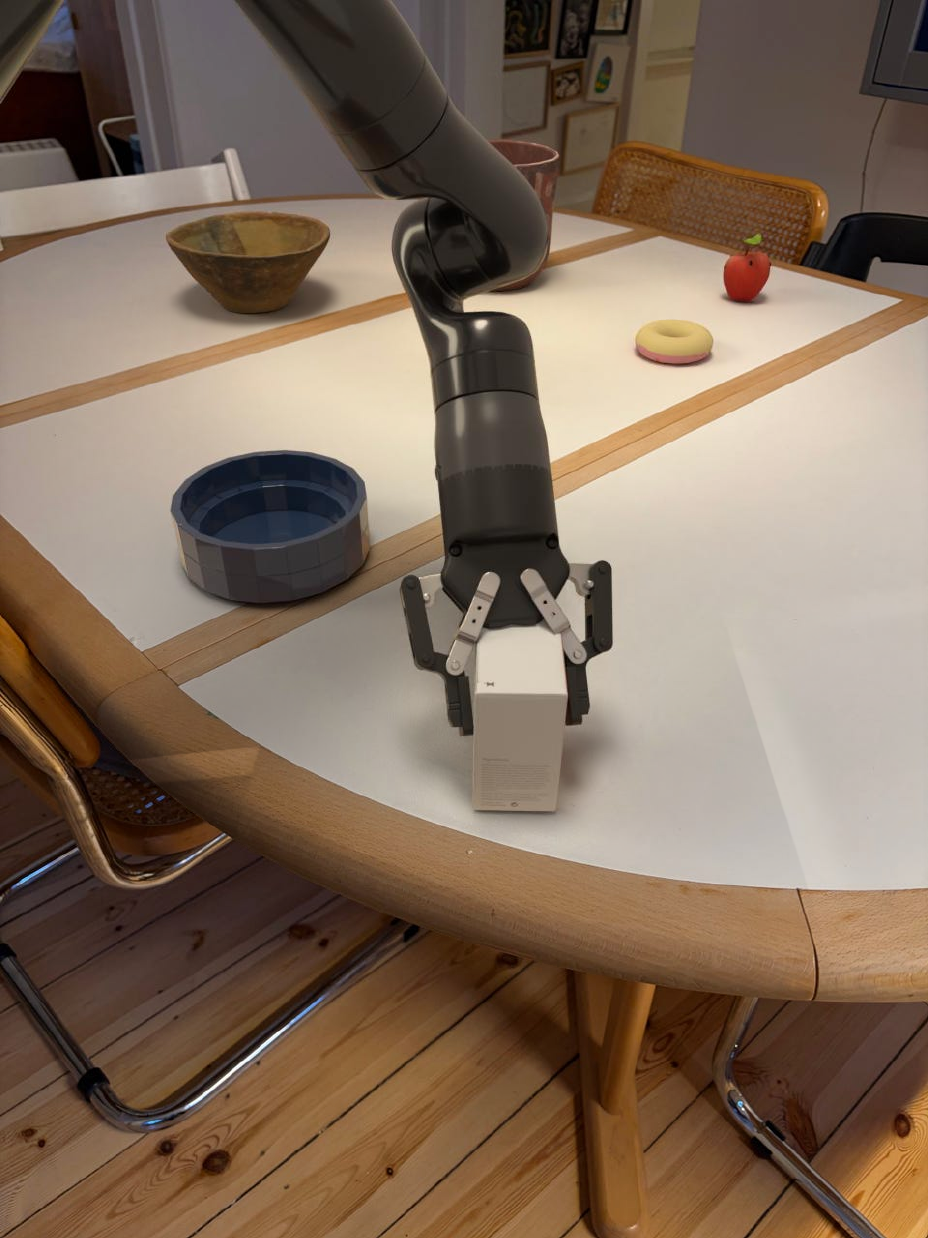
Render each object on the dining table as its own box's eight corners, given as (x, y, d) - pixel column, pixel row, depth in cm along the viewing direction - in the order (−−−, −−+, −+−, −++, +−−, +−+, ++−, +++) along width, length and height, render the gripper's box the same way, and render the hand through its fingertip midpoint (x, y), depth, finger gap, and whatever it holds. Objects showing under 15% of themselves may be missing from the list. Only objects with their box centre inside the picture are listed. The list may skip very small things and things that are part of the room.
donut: (715, 378, 121) (688, 341, 127) (729, 346, 118) (701, 310, 124) (645, 373, 118) (622, 335, 124) (658, 340, 115) (633, 303, 121)
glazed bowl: (175, 616, 77) (162, 556, 73) (190, 511, 90) (179, 456, 86) (376, 599, 79) (373, 540, 75) (362, 499, 92) (359, 444, 88)
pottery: (490, 253, 155) (494, 133, 143) (573, 279, 145) (583, 152, 134) (412, 278, 144) (409, 150, 133) (496, 307, 135) (500, 172, 124)
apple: (709, 293, 141) (721, 223, 134) (750, 289, 142) (763, 220, 136) (733, 310, 135) (747, 239, 129) (776, 307, 136) (791, 235, 130)
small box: (556, 815, 61) (570, 696, 54) (470, 812, 61) (474, 694, 54) (550, 727, 67) (562, 612, 61) (472, 725, 67) (476, 610, 61)
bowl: (293, 268, 148) (287, 200, 142) (360, 312, 133) (356, 239, 126) (157, 292, 138) (144, 221, 132) (212, 342, 123) (200, 265, 117)
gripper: (387, 466, 57) (412, 742, 55) (615, 452, 59) (647, 718, 57) (383, 497, 64) (405, 741, 62) (585, 484, 66) (613, 720, 64)
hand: (521, 729), depth 60 cm, fingers closed on small box, 6 cm apart
